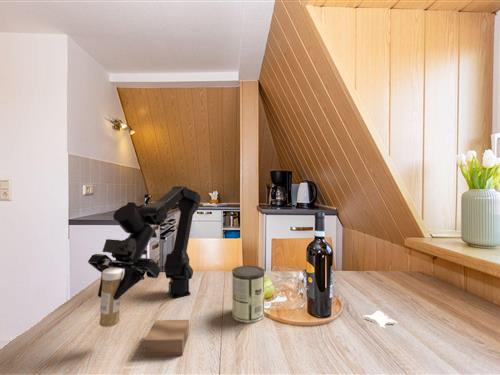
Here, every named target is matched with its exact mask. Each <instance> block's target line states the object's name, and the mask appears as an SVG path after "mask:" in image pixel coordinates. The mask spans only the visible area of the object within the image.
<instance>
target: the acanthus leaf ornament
mask: <svg viewBox="0 0 500 375" xmlns="http://www.w3.org/2000/svg"><path fill="white" fill-rule="evenodd" d="M361 318H362V319H363V320H366V319H367V320H366V321H369V322H371V321H372V323H375V322H376V323H375V324H376V325H378V324H379V325H380V326H379V325H378V326H379V328H380V327H382V328H381V329H386V326H387V325H386V324H393V325H396V324H395V323H399V322H397V321H396V320H394V319H391V318H389V317H388V316H387V315H385V314H384V313H383V312H381V311H380V310H377V311H376V312H374V313H372V314H371V315H363V316H362V317H361ZM384 325H385V326H384Z"/></svg>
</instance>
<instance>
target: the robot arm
mask: <svg viewBox="0 0 500 375" xmlns="http://www.w3.org/2000/svg"><path fill="white" fill-rule="evenodd" d="M201 200H202V199H201V195H200V194H199V193H198V192H197V191H196V190H195V191H194V190H193V189H190V188H188V187H187V186H184V185H183V186H182V185H175V186H173V187H172V188H171V189H170V190H169V191H168V192H167V193H166V194H164V195H163V196H161V198H159V199H158V200H156V201H155V202H151V203H147V204H145V205H143V206H141V207H140V208H139V207H138V205H137V204H136V202H131V201H130V202H129V201H128V202H127V204H126V205H125V204H124V205H122V206H121V207H119V208H118V209H115V212H114V213H113V216H112V217H113V220H114V221H115V222H116V224H118V226H119V227H120V228H121V229H122V230H123V231H124V232H125V233H127V234H129V235H128V237H125V239H122V240H120V239H112V238H111V239H110V238H108V239H105V243H104V245H103V249H102V252H103V253H102V254H101V253H99V254H98V253H95V254H92V255H91V256H90V258H89V259H88V260H87V263H88V264H89V265H90V266H92V267H93V268H94V269H95V270H96V271H98V272H100V273H101V276H100V278H101V279H100V283H99V286H98V287H99V288H98V293H97V297H99V298H101V292H102V282H103V281H102V272H103V270H105V269H107V268H114V267H117V268H121V269H123V276H122V279H121V282H120V284H119V286H118V288H117V290H116V292H115V295H114V299H115V300H117V299H118V298H119V297H120V298H121V297H122V296H123V295H124V294H125V293H126V292H128V291H129V290H130V289H131V288H133V287H134V286H135V285H136V284H137V283H139V282H140V281H144V280H145V278H146V277H147V278H151V279H158V277H159V276H160V272H161V268H160V266H159V265H158V263H157V262H156V261H155V260H154V259H153V258H147V257H145V258H144V257H142V256H146V255H147V253H148V251H147V247H148V245H149V243H150V241H151V239H152V238H153V239H156V238H157V232H156V228H153V227H152V226H161V225H163V223H164V222H165V221H166V219H167V218H168V212H169V211H170V210H171V209H173V207H174V206H176V204H177V207H178V209H179V213H180V214H179V218H178V223H177V228H176V229H177V230H176V235H175V239H174V244H173V249H172V251H171V252H170V253H167V254H166V257H165V262H164V264H163V265H164V274H165V278H166V279H170V280H169V281H168V294H169V295H170V296H171V297H172V299H177V298H180V297H185V296H189V295H191V292H190V289H189V288H190V280H191V279H193V275H194V269H193V268H192V266H191V265H190V258H189V254H188V252H187V251H188V246H189V240H190V233H191V229H192V222H193V216H194V214H195V213H196V212H197V211H198V209H199V207H200V203H201ZM104 253H108V254H109V253H110V254H111V257H112V258H114V259H115V260H113V259H111V258H110V256H108V255H107V254H104ZM145 275H146V277H145Z"/></svg>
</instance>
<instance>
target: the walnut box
mask: <svg viewBox="0 0 500 375" xmlns="http://www.w3.org/2000/svg"><path fill="white" fill-rule="evenodd" d="M189 322H190V321H189V319H164V320H163V319H161V320H160V319H159V320H154V321H153V323H152V326H151V327H150V329H149V330H148V332H147V334H146V336H145V338H144V340H143V357H144V358H146V357H147V358H149V357H151V358H152V357H153V358H154V357H177V356H178V357H180V356H183V355H184V352H185V348H186V344H187V341H188V338H189V333H190V332H189V331H190V330H189V329H190V328H189V326H190V325H189Z"/></svg>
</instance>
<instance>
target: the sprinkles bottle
mask: <svg viewBox="0 0 500 375" xmlns="http://www.w3.org/2000/svg"><path fill="white" fill-rule="evenodd" d="M123 277H124V269H121V268H117V267H114V268H107V269H105V270H103V272H102V281H103V282H102V292H101V297H100V308H99V309H100V310H99V312H100V315H99V321H98V322H99V323H98V324H99V326H101V327H102V328H111V327H114V326H116V325H117V324H118V323H119V322H120V309H121V297H119V298H118V299H117V300H115V299H114V295H115V292H116V290H117V288H118V286H119V284H120V282H121V281H122V279H123Z"/></svg>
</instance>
